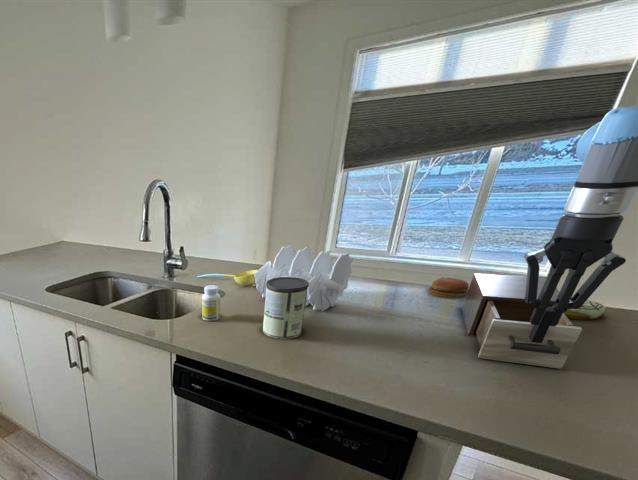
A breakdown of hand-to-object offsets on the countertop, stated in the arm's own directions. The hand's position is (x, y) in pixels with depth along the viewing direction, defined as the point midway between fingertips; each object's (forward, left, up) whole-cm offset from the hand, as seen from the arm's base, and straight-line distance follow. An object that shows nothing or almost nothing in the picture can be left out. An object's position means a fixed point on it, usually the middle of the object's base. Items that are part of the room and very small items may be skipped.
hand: (535, 339), depth 80 cm
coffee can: (+49, -4, -8) cm, 50 cm away
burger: (+10, -50, -8) cm, 52 cm away
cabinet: (0, -26, -7) cm, 27 cm away
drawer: (0, -9, -7) cm, 11 cm away
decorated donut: (-16, -40, -8) cm, 44 cm away
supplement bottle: (+71, -8, -8) cm, 72 cm away
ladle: (+79, -45, -8) cm, 92 cm away
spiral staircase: (+49, -28, -8) cm, 57 cm away
